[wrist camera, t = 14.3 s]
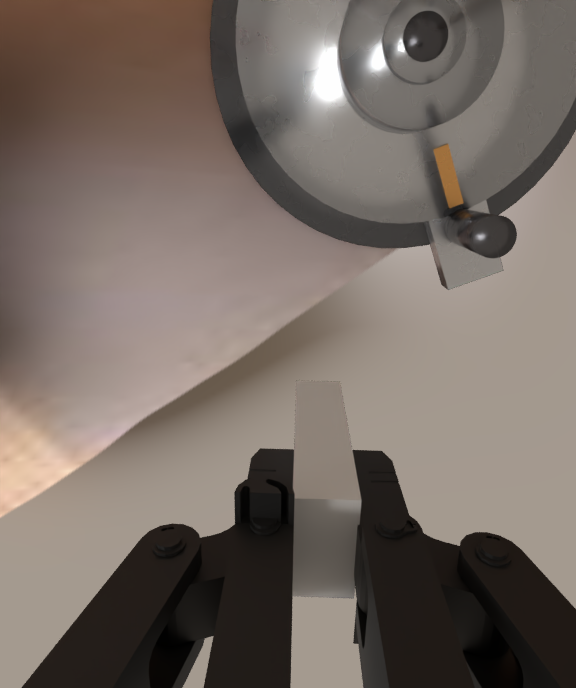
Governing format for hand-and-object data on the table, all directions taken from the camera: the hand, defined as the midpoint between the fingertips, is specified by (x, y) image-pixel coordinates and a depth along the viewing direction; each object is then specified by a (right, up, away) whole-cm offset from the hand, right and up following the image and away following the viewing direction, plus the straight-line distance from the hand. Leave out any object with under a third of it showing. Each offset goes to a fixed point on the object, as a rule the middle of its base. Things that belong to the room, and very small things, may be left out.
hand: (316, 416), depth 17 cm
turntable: (+8, +21, +15) cm, 27 cm away
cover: (+7, +21, +14) cm, 25 cm away
